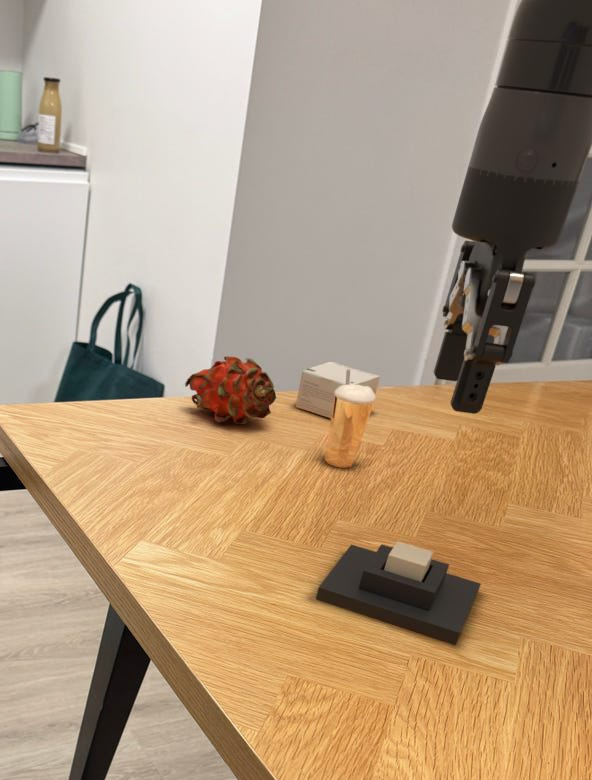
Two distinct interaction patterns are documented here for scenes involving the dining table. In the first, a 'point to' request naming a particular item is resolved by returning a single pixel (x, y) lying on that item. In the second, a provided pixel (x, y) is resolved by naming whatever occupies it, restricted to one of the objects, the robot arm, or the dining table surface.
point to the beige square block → (408, 561)
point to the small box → (329, 386)
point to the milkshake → (348, 422)
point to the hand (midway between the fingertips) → (454, 394)
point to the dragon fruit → (233, 390)
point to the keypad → (400, 594)
